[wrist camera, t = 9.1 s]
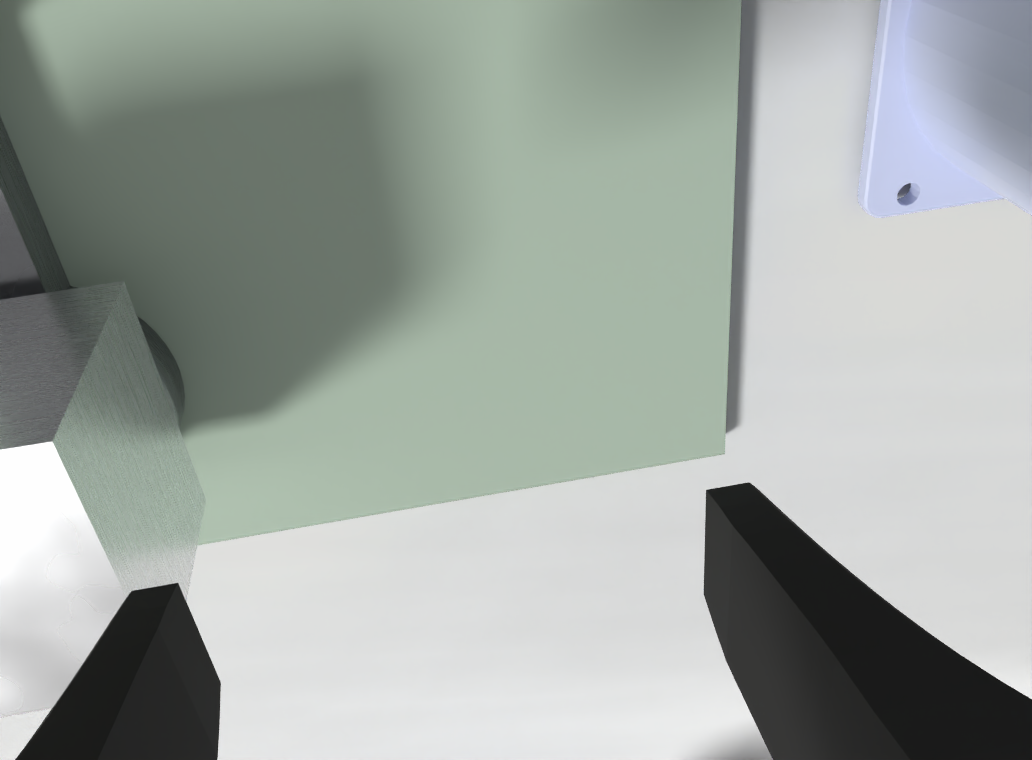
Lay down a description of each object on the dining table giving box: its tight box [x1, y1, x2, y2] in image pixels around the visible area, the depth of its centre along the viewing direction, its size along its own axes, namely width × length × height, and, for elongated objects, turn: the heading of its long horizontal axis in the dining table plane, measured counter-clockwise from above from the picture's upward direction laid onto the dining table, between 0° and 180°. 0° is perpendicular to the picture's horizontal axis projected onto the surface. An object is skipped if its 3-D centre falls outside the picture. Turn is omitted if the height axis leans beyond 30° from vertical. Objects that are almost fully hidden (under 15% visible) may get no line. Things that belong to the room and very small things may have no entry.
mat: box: [0, 0, 741, 545], centre depth 17 cm, size 26×22×1 cm
